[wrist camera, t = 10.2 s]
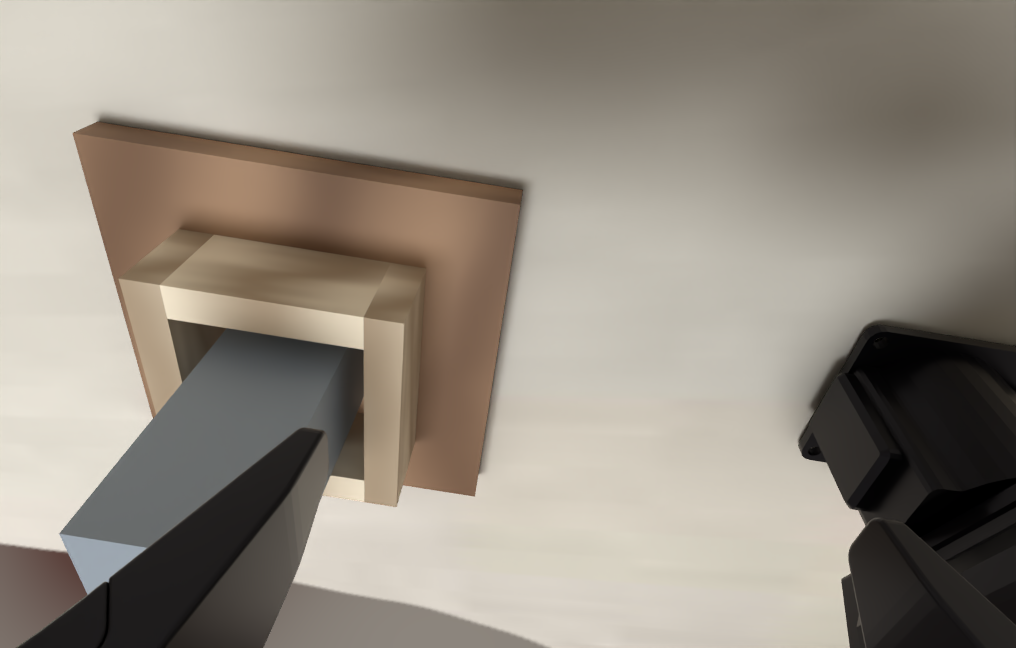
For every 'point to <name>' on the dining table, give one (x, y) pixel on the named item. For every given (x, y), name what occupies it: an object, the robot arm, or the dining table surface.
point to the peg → (214, 440)
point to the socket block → (315, 284)
